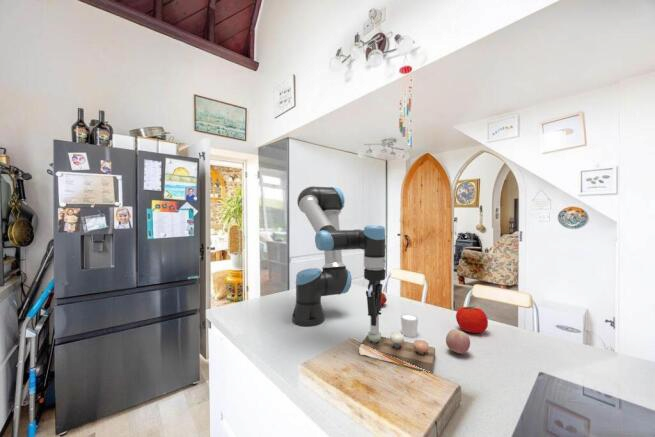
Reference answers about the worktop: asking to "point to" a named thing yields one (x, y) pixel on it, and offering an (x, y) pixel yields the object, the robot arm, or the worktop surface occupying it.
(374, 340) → the button sage
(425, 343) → the button terracotta
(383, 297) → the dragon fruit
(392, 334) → the button ivory
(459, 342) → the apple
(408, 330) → the white cylinder
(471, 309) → the tomato
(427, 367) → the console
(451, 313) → the worktop surface
